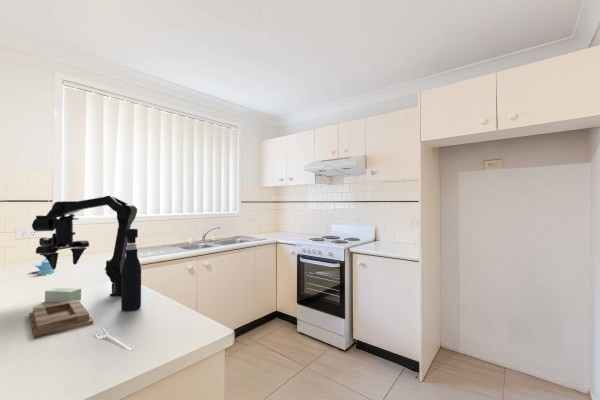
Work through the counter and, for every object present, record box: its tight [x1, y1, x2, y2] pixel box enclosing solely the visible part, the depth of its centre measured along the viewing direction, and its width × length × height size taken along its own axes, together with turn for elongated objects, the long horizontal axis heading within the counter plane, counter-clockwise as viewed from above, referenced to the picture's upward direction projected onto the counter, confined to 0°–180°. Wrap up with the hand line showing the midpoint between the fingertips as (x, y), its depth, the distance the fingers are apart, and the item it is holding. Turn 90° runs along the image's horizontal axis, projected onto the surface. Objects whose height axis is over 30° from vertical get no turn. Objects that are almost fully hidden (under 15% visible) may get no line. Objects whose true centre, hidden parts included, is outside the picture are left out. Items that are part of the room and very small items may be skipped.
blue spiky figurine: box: [33, 257, 55, 276], centre depth 163 cm, size 18×10×9 cm, turn 43°
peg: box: [44, 287, 82, 303], centre depth 114 cm, size 12×4×4 cm, turn 83°
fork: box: [93, 326, 133, 352], centre depth 79 cm, size 3×20×2 cm, turn 58°
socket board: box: [28, 299, 94, 339], centre depth 94 cm, size 25×14×3 cm, turn 47°
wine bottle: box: [120, 228, 142, 313], centre depth 105 cm, size 6×6×30 cm
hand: (64, 266), depth 119 cm, fingers open, 9 cm apart
